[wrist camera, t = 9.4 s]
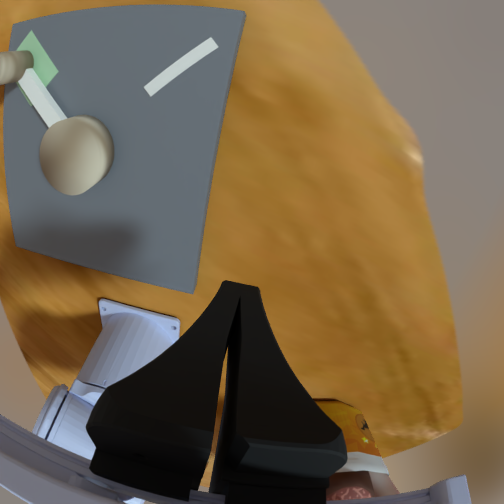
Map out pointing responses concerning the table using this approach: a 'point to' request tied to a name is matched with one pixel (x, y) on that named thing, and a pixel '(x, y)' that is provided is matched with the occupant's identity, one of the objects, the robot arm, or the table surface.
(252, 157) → the table surface
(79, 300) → the table surface
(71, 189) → the crank handle
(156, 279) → the dial board
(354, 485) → the bucket of meat
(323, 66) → the table surface
